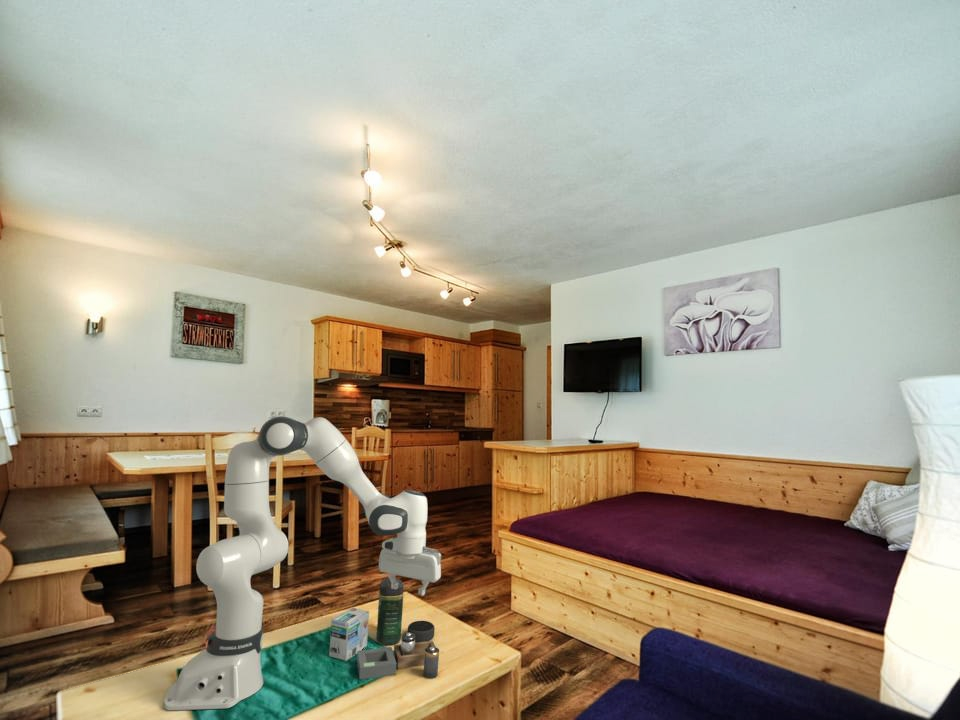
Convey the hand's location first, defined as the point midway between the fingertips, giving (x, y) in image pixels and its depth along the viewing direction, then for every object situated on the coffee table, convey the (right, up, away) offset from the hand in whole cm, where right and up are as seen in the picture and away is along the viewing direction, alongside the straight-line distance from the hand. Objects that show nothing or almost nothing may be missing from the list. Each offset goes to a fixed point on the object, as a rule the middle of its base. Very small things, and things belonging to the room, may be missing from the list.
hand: (407, 591), depth 146 cm
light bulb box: (-19, -20, +2) cm, 27 cm away
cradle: (-8, -19, -7) cm, 22 cm away
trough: (+3, -20, -2) cm, 20 cm away
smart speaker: (+2, -22, +13) cm, 25 cm away
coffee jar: (-8, -21, +11) cm, 25 cm away
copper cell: (+8, -19, -10) cm, 23 cm away
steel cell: (0, -19, -2) cm, 19 cm away
